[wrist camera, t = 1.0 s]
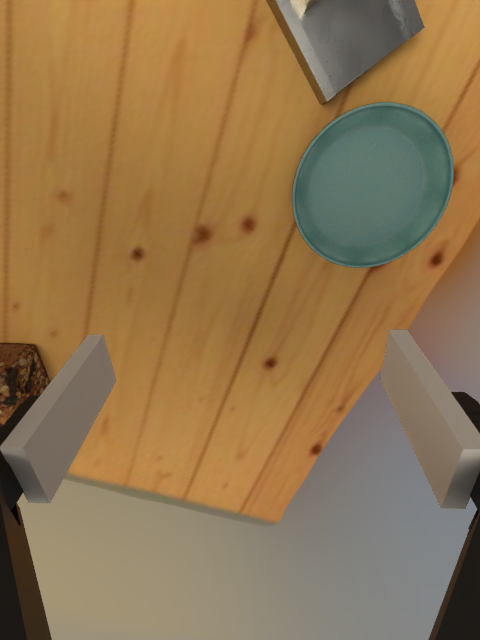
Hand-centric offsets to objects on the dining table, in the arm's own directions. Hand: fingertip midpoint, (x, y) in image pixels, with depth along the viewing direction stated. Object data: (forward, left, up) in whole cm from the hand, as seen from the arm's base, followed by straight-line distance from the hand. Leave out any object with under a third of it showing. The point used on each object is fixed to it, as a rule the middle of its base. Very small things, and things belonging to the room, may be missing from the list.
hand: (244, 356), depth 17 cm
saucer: (+3, +11, -25) cm, 27 cm away
